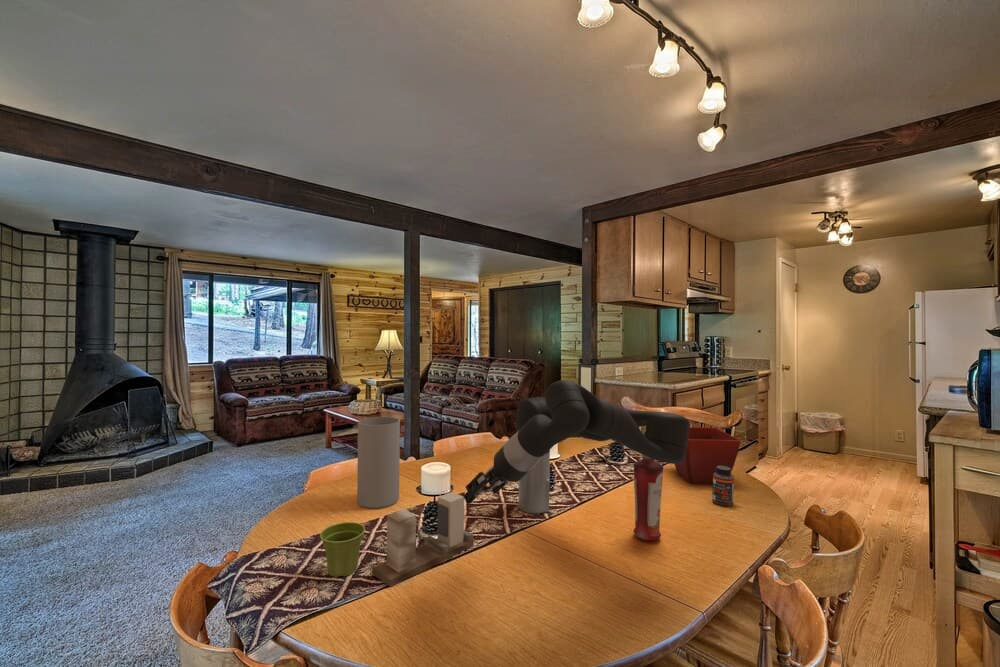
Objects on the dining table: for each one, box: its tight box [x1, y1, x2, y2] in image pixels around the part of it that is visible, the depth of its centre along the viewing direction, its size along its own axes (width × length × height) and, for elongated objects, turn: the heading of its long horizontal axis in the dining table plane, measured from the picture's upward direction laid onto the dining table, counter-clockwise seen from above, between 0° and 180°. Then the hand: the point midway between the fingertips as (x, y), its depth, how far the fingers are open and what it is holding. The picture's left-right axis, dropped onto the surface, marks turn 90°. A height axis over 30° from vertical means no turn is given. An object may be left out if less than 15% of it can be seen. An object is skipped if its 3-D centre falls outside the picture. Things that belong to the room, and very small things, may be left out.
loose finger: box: [437, 491, 465, 548], centre depth 108 cm, size 5×4×11 cm
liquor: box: [633, 429, 664, 543], centre depth 114 cm, size 7×7×28 cm
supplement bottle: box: [711, 466, 735, 507], centre depth 138 cm, size 6×6×11 cm
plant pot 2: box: [674, 426, 741, 485], centre depth 161 cm, size 19×19×17 cm
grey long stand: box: [371, 508, 474, 588], centre depth 102 cm, size 24×7×12 cm, turn 138°
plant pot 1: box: [319, 521, 366, 578], centre depth 97 cm, size 9×9×9 cm
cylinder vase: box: [356, 416, 401, 509], centre depth 136 cm, size 12×12×25 cm
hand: (480, 494), depth 100 cm, fingers open, 8 cm apart
